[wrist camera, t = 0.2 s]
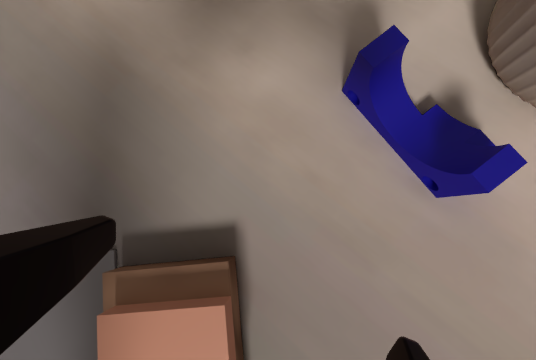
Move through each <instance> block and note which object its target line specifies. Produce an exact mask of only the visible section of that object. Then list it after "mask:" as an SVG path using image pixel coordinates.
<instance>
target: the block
mask: <svg viewBox="0 0 536 360" xmlns="http://www.w3.org/2000/svg"><path fill="white" fill-rule="evenodd" d="M97 350H98V360H236V351H235V338H234V326H233V314H232V301H231V296H224V297H212V298H201V299H189V300H177V301H165V302H153V303H141V304H129V305H117V306H114V307H112V308H110V309H108V310H107V311H105V312H103V313H101V314H99V315H97Z"/></svg>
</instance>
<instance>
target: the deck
mask: <svg viewBox="0 0 536 360" xmlns="http://www.w3.org/2000/svg"><path fill="white" fill-rule="evenodd" d="M102 278H103V312H105V311H107V310H108V309H110V308H112V307H114V306H117V305H129V304H141V303H153V302H165V301H177V300H189V299H201V298H212V297H224V296H231V301H232V314H233V326H234V338H235V351H236V360H244V357H243V345H242V334H241V322H240V310H239V298H238V286H237V274H236V262H235V256H230V257H219V258H208V259H198V260H187V261H176V262H166V263H155V264H144V265H134V266H123V267H119V268H116V269H113V270H110V271H107V272H104V273H102Z"/></svg>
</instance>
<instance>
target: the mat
mask: <svg viewBox="0 0 536 360" xmlns="http://www.w3.org/2000/svg"><path fill="white" fill-rule="evenodd" d="M116 268H117V254H116V250H110V251H109V252H108V253H107V254H106V255H105V256H104V257H103V258H102V259H101V260H100V261H99V262H98V263H97V265H96V266H95V267H94V268H93V269H92V270H91V271H90V272H89V273H88V274H87V275H86V276H85V278H84V279H83V280H82V281H81V282H80V283H79V284H78V285H77V286H76V287H75V288H74V289H73V290H72V291H71V292H69V293H68V294H67V295H66V296H65V297H64V298H63V299H62V300H61V301H60V302H58V303H57V304H56V305H55V306H54V307H53V308H52V309H51V310H50V311H49V312H47V313H46V314H45V315H44V316H43V317H42V318H41V319H40V320H39V321H38V322H36V323H35V324H34V325H33V326H32V327H31V328H30V329H29V330H28V331H26V332H25V333H24V334H23V335H22V336H21V337H20V338H19V339H18V340H17V341H15V342H14V343H13V344H12V345H11V346H10V347H9V348H8V349H7V350H6V351H4V352H3V353H2V354H1V355H0V360H98V350H97V315H99V314H101V313H103V278H102V273H104V272H107V271H110V270H113V269H116Z"/></svg>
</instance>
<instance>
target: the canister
mask: <svg viewBox="0 0 536 360" xmlns="http://www.w3.org/2000/svg"><path fill="white" fill-rule="evenodd" d="M487 33H488V39H487V45H488V46H489V52H488V54H489V56H490V57H491V60H492V66H493V67H494V68H495V69H496V71H497V76H499V77H500V78H501V79H502V81H503V82H504V85H506V86H508V87H509V88H510V89H511V91H512V93H513V94H516V95H518V96H519V97H520V98H521V99H522V100H523V101H526V102H529V103H531V104H532V105H533V106H534V107H536V0H497V2H496V4H495V7H494V9H493V11H492V13H491V16H490V24H489V26H488V29H487Z"/></svg>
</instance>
